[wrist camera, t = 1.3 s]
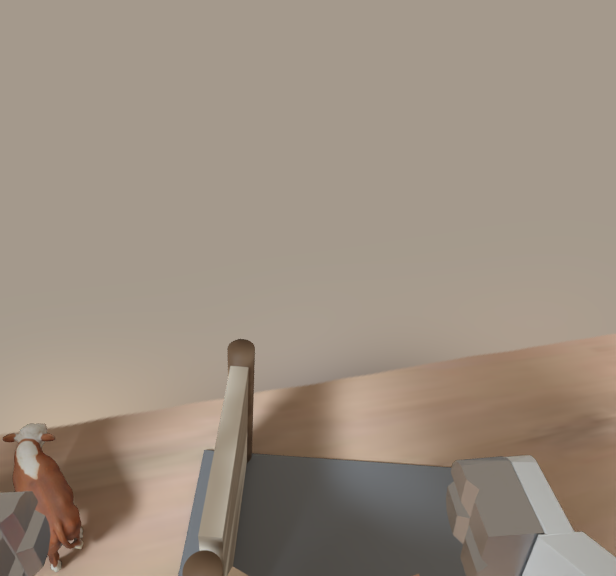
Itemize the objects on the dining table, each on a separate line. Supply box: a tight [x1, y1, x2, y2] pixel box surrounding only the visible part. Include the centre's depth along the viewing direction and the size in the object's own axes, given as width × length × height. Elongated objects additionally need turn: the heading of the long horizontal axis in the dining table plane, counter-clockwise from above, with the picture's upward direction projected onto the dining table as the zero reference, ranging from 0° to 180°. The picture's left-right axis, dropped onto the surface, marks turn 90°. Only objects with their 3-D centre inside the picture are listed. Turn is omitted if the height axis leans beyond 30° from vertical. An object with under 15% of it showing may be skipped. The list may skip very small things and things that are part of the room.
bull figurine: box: [3, 424, 83, 572], centre depth 48 cm, size 4×13×8 cm, turn 32°
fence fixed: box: [182, 339, 255, 576], centre depth 44 cm, size 2×21×17 cm, turn 179°
